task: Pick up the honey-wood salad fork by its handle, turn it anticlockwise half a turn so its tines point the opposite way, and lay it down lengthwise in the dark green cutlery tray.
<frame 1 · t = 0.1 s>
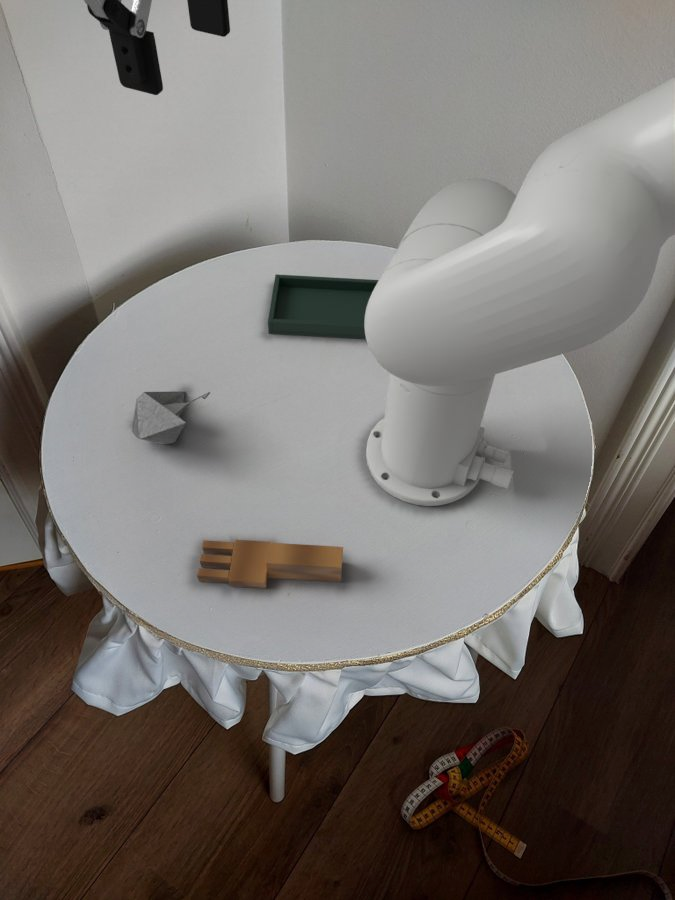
hand: (178, 59, 54), 37 cm above the table, tool pointing down, fingers open, 9 cm apart
tray: (340, 313, 91), on the table
grey angular piece: (175, 434, 79), on the table
fork: (284, 568, 70), on the table
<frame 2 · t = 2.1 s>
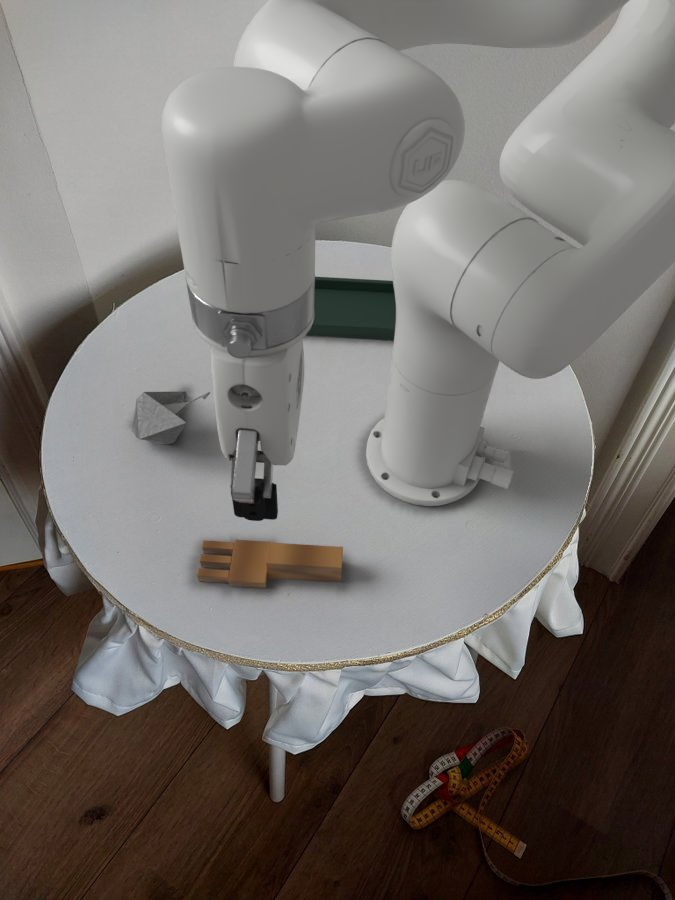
hand: (264, 462, 57), 16 cm above the table, tool pointing down, fingers open, 9 cm apart
nothing on the table moved.
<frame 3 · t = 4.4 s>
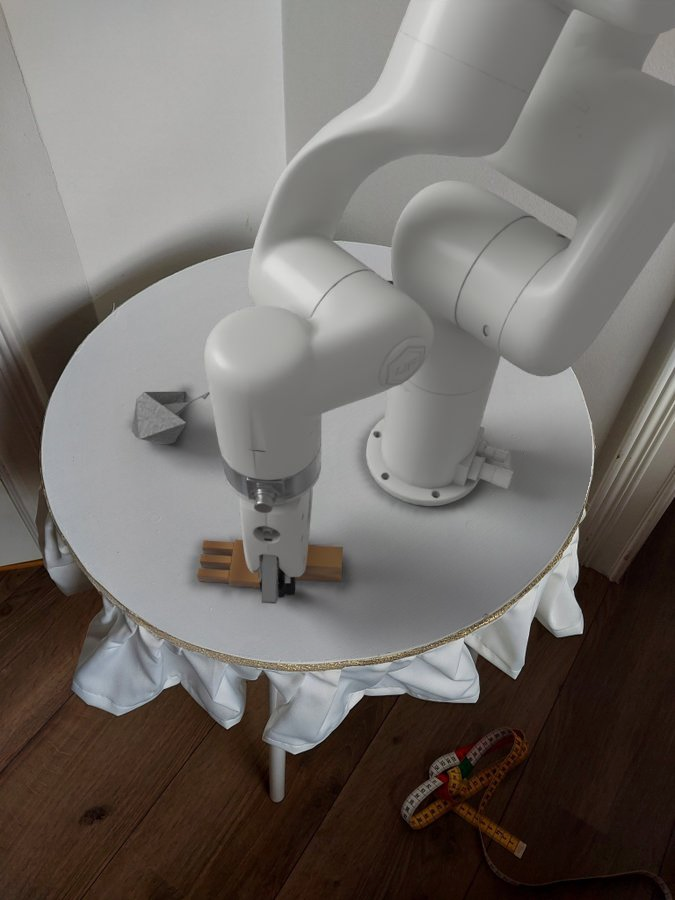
hand: (281, 565, 69), 1 cm above the table, tool pointing down, fingers closed on fork, 4 cm apart
fork: (284, 568, 70), on the table, touching gripper
everything else where it was.
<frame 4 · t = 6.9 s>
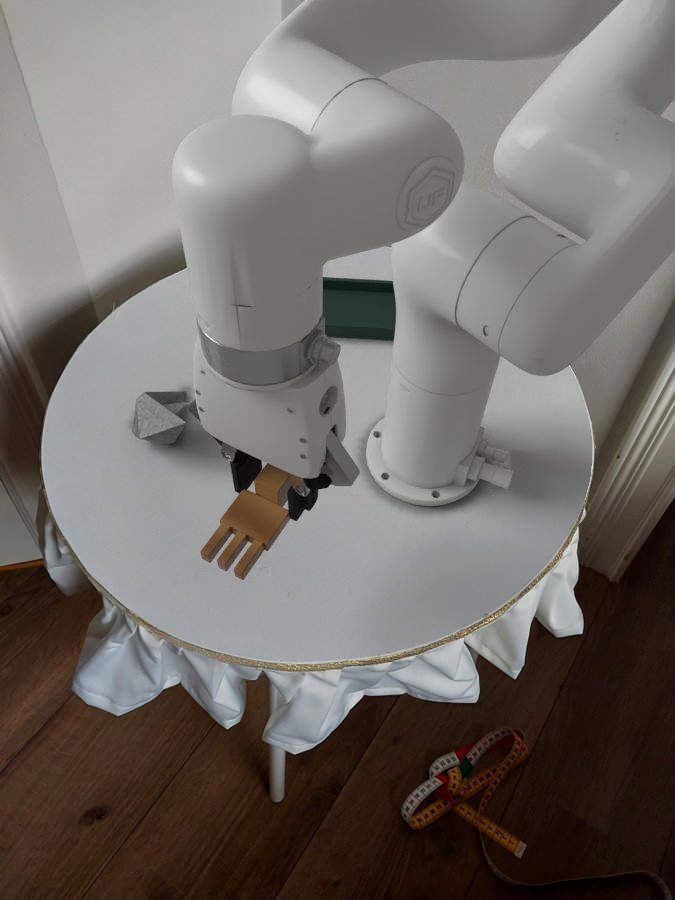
hand: (275, 492, 59), 13 cm above the table, tool pointing down, fingers closed on fork, 4 cm apart
fork: (277, 493, 59), point 13 cm above the table, touching gripper
everything else where it was.
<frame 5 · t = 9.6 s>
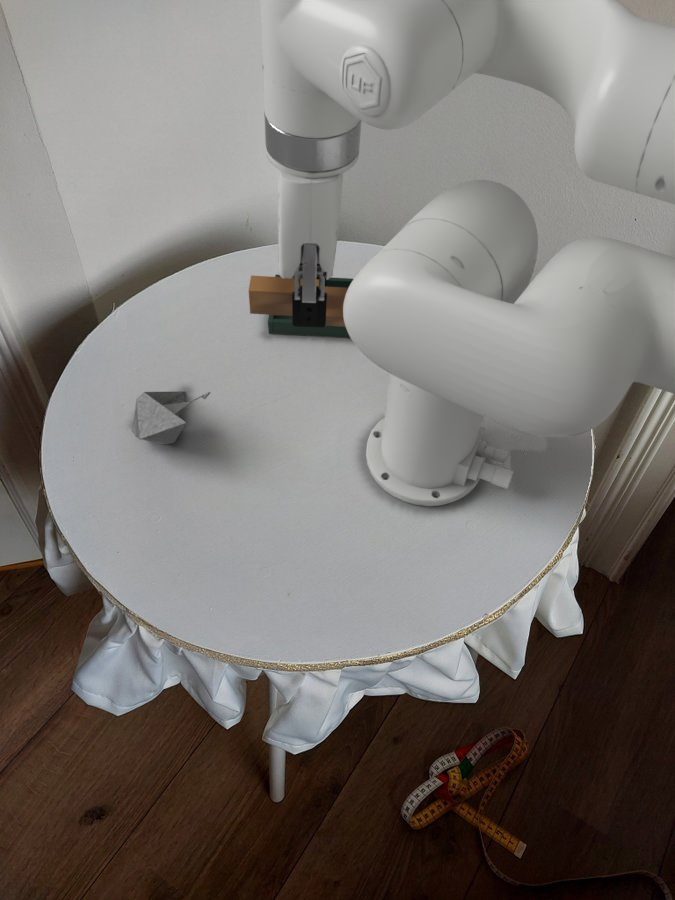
hand: (309, 305, 72), 14 cm above the table, tool pointing down, fingers closed on fork, 4 cm apart
fork: (306, 309, 72), point 13 cm above the table, touching gripper
everything else where it was.
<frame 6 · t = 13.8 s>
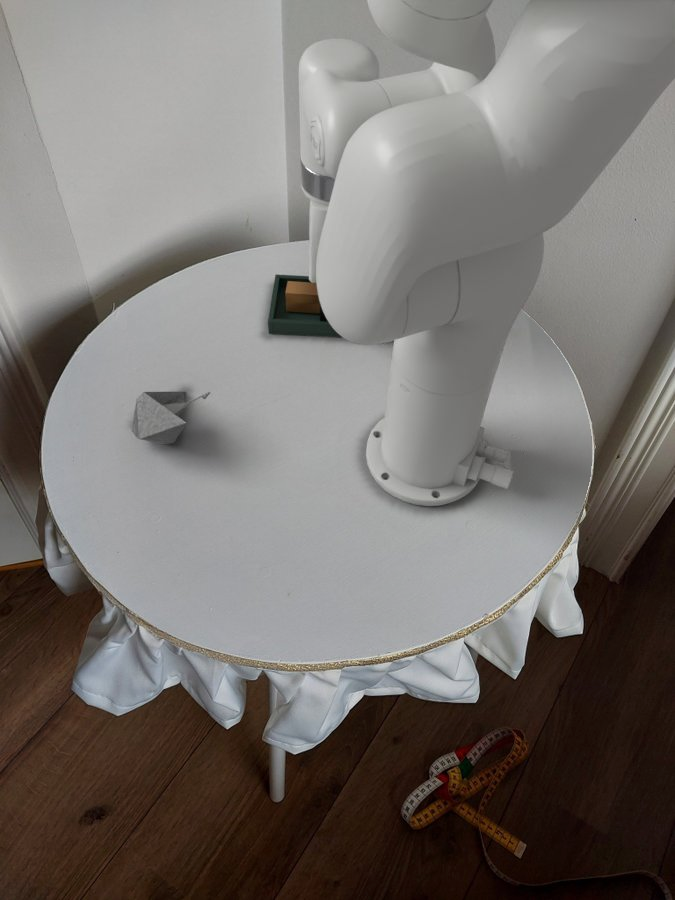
hand: (334, 305, 90), 1 cm above the table, tool pointing down, fingers closed on fork, 4 cm apart
fork: (331, 308, 90), point 1 cm above the table, touching gripper
everything else where it was.
when the fingers open (2 cm above the table, at t = 15.9 s): fork stays where it is, resting on tray.
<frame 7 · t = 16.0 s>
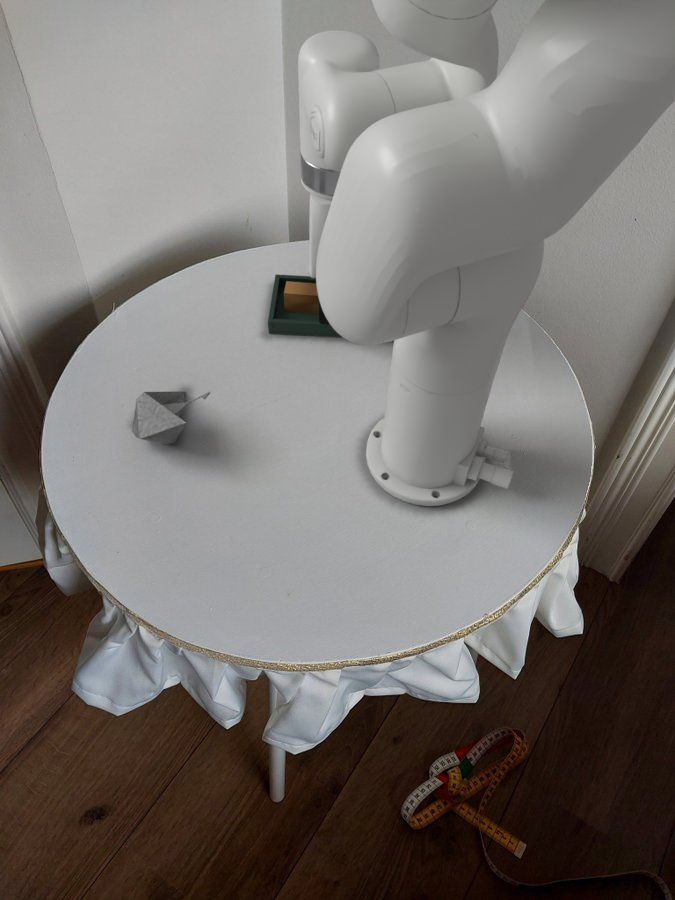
hand: (334, 297, 89), 3 cm above the table, tool pointing down, fingers open, 8 cm apart
fork: (329, 309, 91), resting on tray
everything else where it was.
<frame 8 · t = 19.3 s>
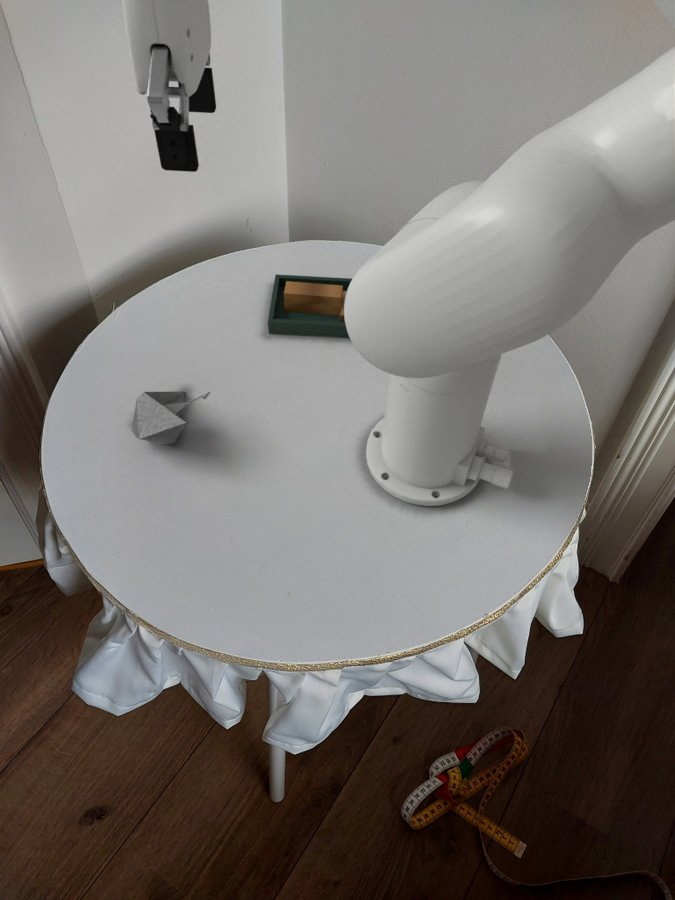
hand: (190, 138, 66), 26 cm above the table, tool pointing down, fingers open, 9 cm apart
nothing on the table moved.
at the end: fork inside the target area in the tray (0.4 cm from its centre), point 0.5 cm above the tray's base; fork tilted 0°; the gripper is holding nothing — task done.
